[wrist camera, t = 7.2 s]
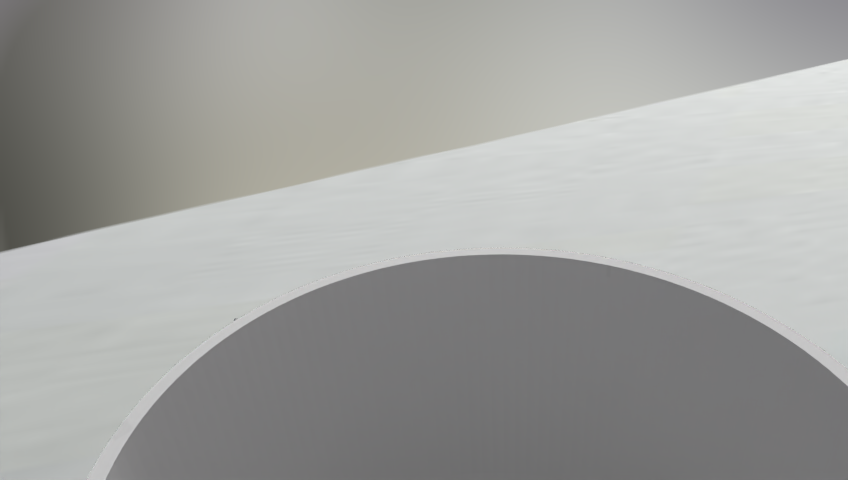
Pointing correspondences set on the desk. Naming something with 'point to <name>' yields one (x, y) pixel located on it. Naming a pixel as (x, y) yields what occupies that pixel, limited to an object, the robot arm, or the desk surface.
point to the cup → (493, 381)
